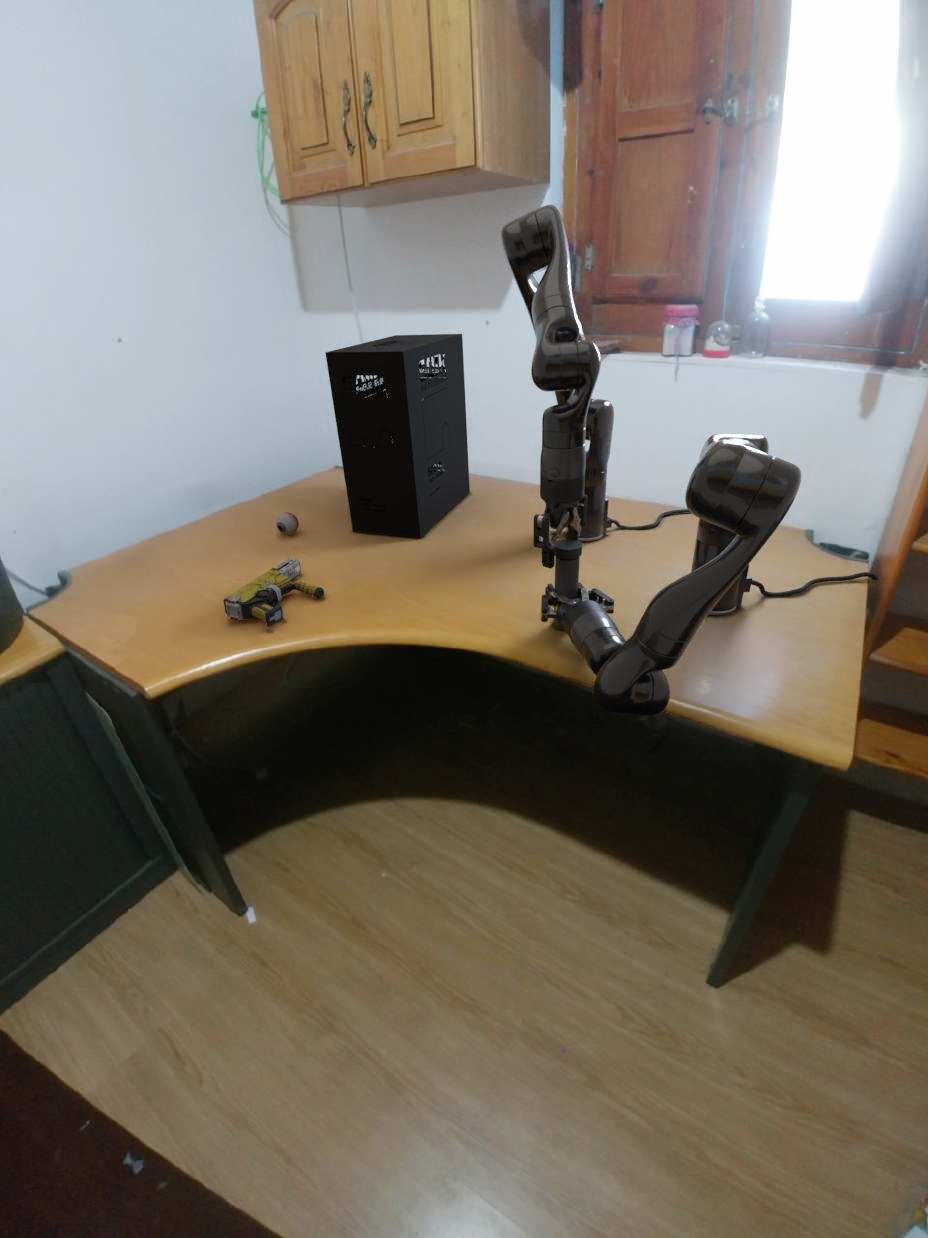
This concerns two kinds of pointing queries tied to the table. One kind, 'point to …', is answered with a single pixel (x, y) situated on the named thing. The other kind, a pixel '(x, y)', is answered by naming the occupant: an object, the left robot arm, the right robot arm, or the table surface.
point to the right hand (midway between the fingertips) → (561, 586)
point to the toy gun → (268, 594)
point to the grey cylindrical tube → (566, 580)
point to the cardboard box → (401, 431)
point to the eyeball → (287, 523)
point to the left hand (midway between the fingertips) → (560, 558)
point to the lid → (568, 548)
